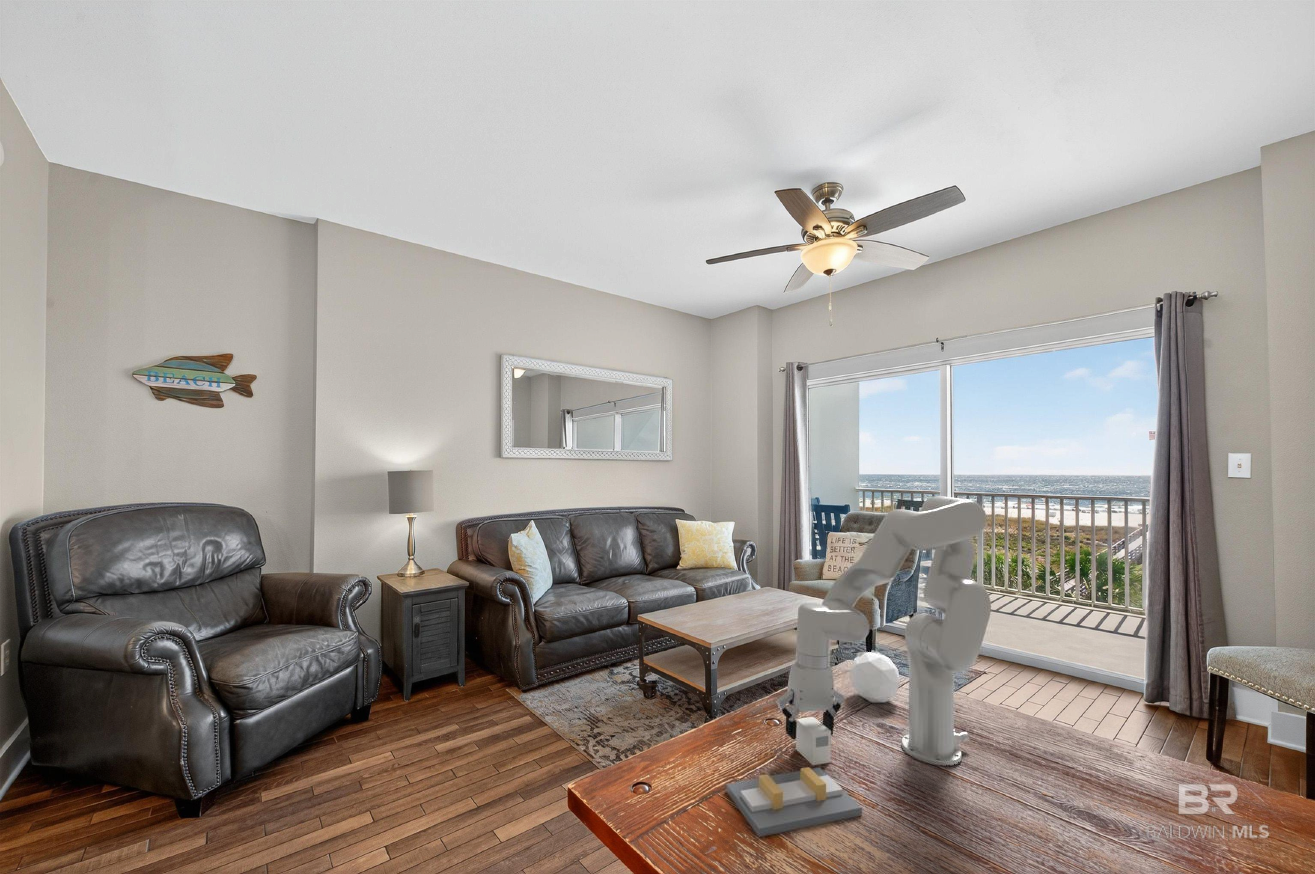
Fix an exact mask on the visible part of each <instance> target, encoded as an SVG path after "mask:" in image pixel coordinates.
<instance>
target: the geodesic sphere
mask: <svg viewBox="0 0 1315 874" xmlns="http://www.w3.org/2000/svg"><path fill="white" fill-rule="evenodd" d="M849 673H850V675H849V676H850V683H851V686H852V687H853V688H854V690H855V691H856V692H857V694H858V695H859V696H861V697H862V698H864V699H865V700H867V701H868V702H870V703H886V702H889V700H891V699H893V698H894V697H896V696H897V693H898V690H899V687H900V684H901V682H900V681H901V680H900V675H899V673H900V672H899V669H898V668H897V666H896V665H895V664H894V663H893V661H892V659H891V658H890V657H888V656H886V655H884V654H883V653H880V652H878V651H876V650H873V649H871V652H870V651H869V652H868V651H865V652H864V651H859V652H856V657H854V659H853V661H852V664H851V667H850V669H849Z"/></svg>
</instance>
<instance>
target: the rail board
mask: <svg viewBox="0 0 1315 874" xmlns="http://www.w3.org/2000/svg"><path fill="white" fill-rule="evenodd" d="M725 785H726V786H725V789H726V790H725V791H726V793H727V795H728V796H729V798H730V799H731V800H732V801H733V802H734V805H736V807H737V809H738V810H739V811H740V813H741V814H742V815H743V817H744V819H745V820H746V821H747V822H748V825H750V827H751V828H752V830H753V831H754V832H755V834H756V836H757V837H758V838H761V837H765V836H766V837H767V836H770V835H775V834H779V833H785V832H790V831H795V830H798V829H804V828H807V827H808V828H809V827H813V826H817V825H822V824H823V825H824V824H827V823H832V822H838V821H843V820H846V819H851V818H856V817H860V816H863V810H862V809H863V807H862V806H861V805H860V804H858V802H857V801H856V800H855V799H853V797H851V796H850V795H849V794H848V793H847V792H846V791H845V790H844V789H843V788H842V787H841V786H840V785H839V784H838V783H837V782H836V781H835V780H834V779H832V777H831V776H829V775H828V774H827V773H826V772H825V771H824V770H823V769H822V768H821V767H815V768H813V767H812V768H811V767H809V766H808V767H801V768H800V770H798V771H791V772H785V773H780V774H775V775H769V774H768V773H767V774H760V775H758V777H756V778H750V779H746V780H745V779H744V780H741V781H740V780H738V781H734V782H728V783H726V784H725Z"/></svg>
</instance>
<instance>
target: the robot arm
mask: <svg viewBox="0 0 1315 874" xmlns="http://www.w3.org/2000/svg"><path fill="white" fill-rule="evenodd" d="M986 524H987V514H986V511H985V509H984V508H983V506H981V505H980V504H979V503H977V501H973V500H971V499H967V498H959V497H952V496H943V495H942V496H941V495H940V496H939V495H938V496H930V497H929V498H926V500H924V501H923V504H922V506H921V511H914V510H909V509H903V508H901V509H900V508H898V509H893V510H891V511H889V512H887V514H886V515H884V518H882V521H880V524H879V526H878V528H877V529H876V531H874V534H873V536H872V537H871V540H870V541H869V543H868V544H867V546H866V548H865V549H864V551H863V553H862V554H861V556H860V558H859V559H858V560H857V561H856V562H854V563H853V564H852V565H851V566H850V567H848V568H847V569H846V570H845V571H844V572H843V573H841V574H840V575H839V576H837V577H838V578H836V579H835V581H834V582H833V583H832V585H831V587H830V588H829V590H828V592H827V594H826V595H825V596H824V599H823V601H822V603H821V604H820V603H815V602H814V603H813V602H807V603H805V602H804V603H802V604H800V605H799V607H798V611H797V622H796V623H797V625H796V645H795V646H796V648H795V649H796V650H795V662H792V664H791V667H790V671H789V675H788V681H787V682H788V683H787V689H786V691H787V692H785V693H784V694H783V695H781V696H780V697H778V698H777V699H776V705H777V706H778V709H779V711H780V712H781V713H782V714H783V716H784V717H785V733H786V734H787V735H788V737H790V738H791V739H792V740H796V729H797V722H796V719H797V717H798V716H799V715H800V713H812V712H821V711H823V713H822V724H823V725H824V726H825V727H827V728H828V729H829V730H830V731H831V736H833V734H834V726H835V725H834V723H835V718H836V717H837V713H838V712H839V711H840V709H841V708H842V704H843V702H844V700H845V695H844V694H842V693H841V692H839V691H837V690H835V689H834V688H835V685H834V675H833V674H834V673H833V669H832V665H830V663H831V661H830V660H833V659H834V657H835V656H834V654H833V652H831V640H836V641H840V642H845V643H858V642H861V641H863V640H864V639H866V638H867V636H868V635H869V633H870V623H869V620H868V619H867V616H865V614H864V613H862V612H861V611H859V610H858V609H857V608H855V606H856V603H857V602H858V601H859V599H860V598H861V597H862V596H863V594H865V593H866V592H867V591H869V590H870V589H872V588H874V587H876V586H877V587H878V586H881V585H884V584H887V583H890V582H892V581H894V579H895V578H896V576H897V575H898V574H899V571H900V570H901V567H902V565H903V564H904V563H905V561H906V559H907V557H908V556H909V554H910V552H911V551H912V550H916V551H931V550H934V553H933V557H932V561H931V563H930V567H929V571H928V574H927V576H926V577H927V578H926V581H925V583H924V585H923V586H924V587H923V593H922V594H923V599H924V601H925V602H926V604H927V605H928V606H930V607H931V608H932V609H934V610H936V611H937V612H940V613H942V614H944V617H943V618H941V617H940V616H936V615H934V614H931V613H917V614H914V615H913V616H912V617H911V618H910V619H909V620H908V621H907V623H906V626H905V631H904V640H905V645H906V651H907V657H908V733H907V734H906V735H904V736H903V737H902V738H901V747H902V749H903V750H904V751H905V753H907V754H908V755H909V756H911V757H912V758H914V759H915V760H919V761H921V762H924V763H927V764H929V765H934V766H941V765H942V767H943V766H944V767H945V766H946V765H947V766H946V767H949V766H948V765H950V766H955V765H958V764H959V763H960V762H961V761H962V757H963V755H962V751H961V750H960V749H959V747H958V745H959V744H960V743H964V742H968V741H970V735H969V734H968V732H967V731H962V732H958V733H957V732H956V730H955V721H954V719H955V709H954V708H955V702H954V701H955V696H954V693H955V678H954V673H962V672H966V671H967V670H969V669H970V668H971V667H972V666H973V665H974V664H975V662H977V661H976V660H977V659H978V657H979V654H980V651H981V648H982V644H983V642H984V637H985V635H986V632H987V631H986V630H987V628H988V624H989V620H990V616H991V614H992V613H991V611H992V602H991V598H990V595H989V593H988V591H987V590H986V589H985V587H984V586H983V585H982V584H980V583H979V582H977V581H975V580H972V579H971V576H972V572H973V568H974V563H975V561H976V560H975V559H976V558H975V557H976V549H975V543H974V541H973V538H974V537H976V536H978V535H979V534H980V533H982V532H983V530H984V529H985V527H986ZM787 704H788V706H787ZM958 762H959V763H958ZM954 764H955V765H954Z"/></svg>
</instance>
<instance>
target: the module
mask: <svg viewBox="0 0 1315 874" xmlns="http://www.w3.org/2000/svg"><path fill="white" fill-rule="evenodd" d="M795 721H796V722H797V729H796V739H795V750H796V751H797V752H798V753H800V755H802V756H803V757H804V759H805V760H806V761H808V762H809V763H810V764H811V765H812V766H819V765H823V764H829V763H831V761H832V760H831V757H832V748H831V747H832V743H831V742H832V735H831V731H830V730H829V729H828V728H827V727H825V726H824V725H823V722H820V721H819V720H818V719H817V718H815V717H814V716H809V717H801V718H796V719H795Z"/></svg>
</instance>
